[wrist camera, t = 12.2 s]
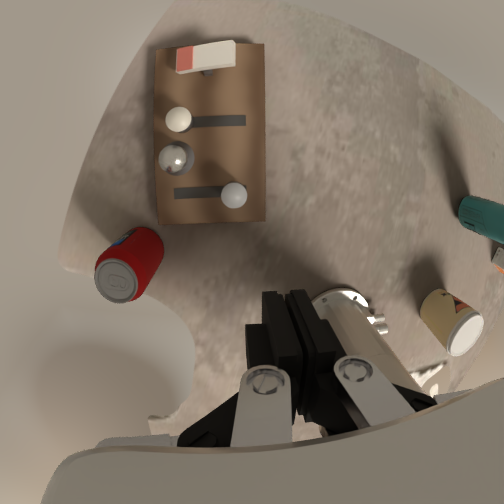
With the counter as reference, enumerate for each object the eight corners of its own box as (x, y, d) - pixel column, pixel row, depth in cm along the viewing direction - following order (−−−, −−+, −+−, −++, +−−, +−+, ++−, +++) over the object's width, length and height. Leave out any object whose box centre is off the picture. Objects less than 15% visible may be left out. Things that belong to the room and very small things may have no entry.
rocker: (235, 43, 26) (232, 39, 24) (235, 66, 27) (231, 62, 26) (181, 52, 27) (176, 49, 26) (180, 74, 28) (175, 71, 27)
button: (187, 144, 31) (185, 144, 29) (188, 170, 32) (186, 171, 30) (162, 146, 31) (158, 146, 29) (163, 172, 32) (159, 173, 30)
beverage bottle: (448, 217, 42) (529, 254, 23) (460, 186, 40) (543, 211, 21) (465, 231, 43) (539, 268, 24) (476, 201, 41) (553, 230, 22)
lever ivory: (195, 110, 31) (191, 105, 27) (195, 133, 32) (191, 130, 28) (172, 112, 31) (165, 108, 27) (172, 134, 32) (165, 132, 28)
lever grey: (245, 179, 34) (247, 182, 31) (245, 202, 35) (247, 208, 32) (221, 180, 34) (220, 183, 30) (222, 203, 35) (221, 208, 31)
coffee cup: (455, 292, 47) (490, 319, 36) (433, 328, 50) (463, 360, 39) (433, 278, 46) (471, 307, 34) (408, 319, 48) (441, 354, 37)
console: (261, 51, 31) (265, 38, 27) (262, 216, 39) (267, 224, 35) (161, 56, 30) (152, 45, 26) (163, 219, 38) (155, 228, 34)
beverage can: (125, 221, 38) (89, 247, 27) (168, 230, 39) (145, 261, 28) (121, 263, 40) (89, 300, 29) (162, 273, 41) (140, 315, 30)
